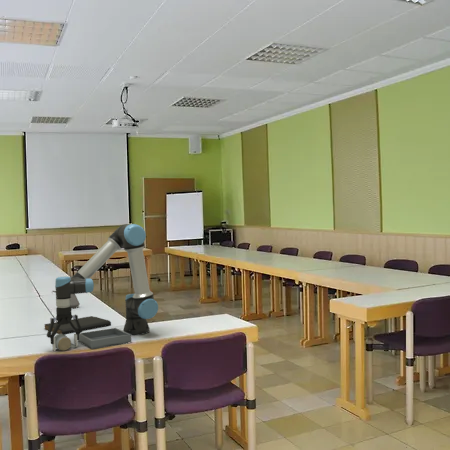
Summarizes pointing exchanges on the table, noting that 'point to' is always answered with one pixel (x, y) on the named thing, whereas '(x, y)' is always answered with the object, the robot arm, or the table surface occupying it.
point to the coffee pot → (73, 301)
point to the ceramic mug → (63, 342)
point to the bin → (104, 338)
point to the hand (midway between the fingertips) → (65, 348)
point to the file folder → (85, 324)
